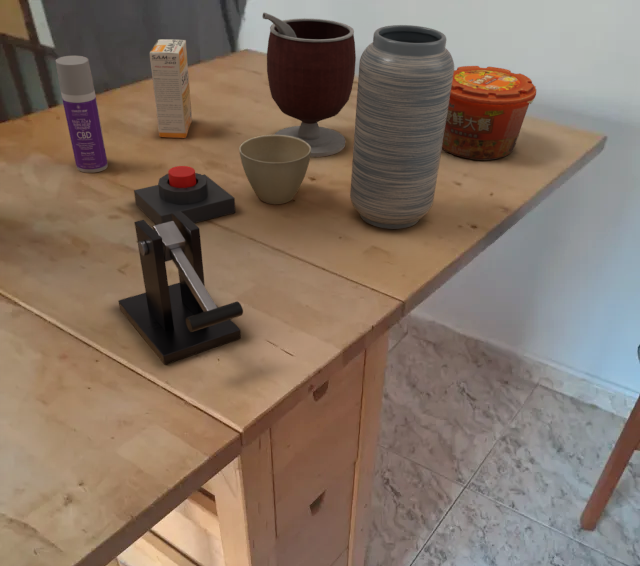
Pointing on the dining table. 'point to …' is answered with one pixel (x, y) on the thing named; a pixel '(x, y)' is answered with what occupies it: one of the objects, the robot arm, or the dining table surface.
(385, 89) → the vase
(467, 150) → the food container
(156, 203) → the button box
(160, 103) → the supplement box
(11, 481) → the dining table surface
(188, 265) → the lever
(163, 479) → the dining table surface
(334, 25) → the mate gourd
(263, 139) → the flower pot
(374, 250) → the dining table surface
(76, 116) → the container
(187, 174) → the button
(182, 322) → the bracket
